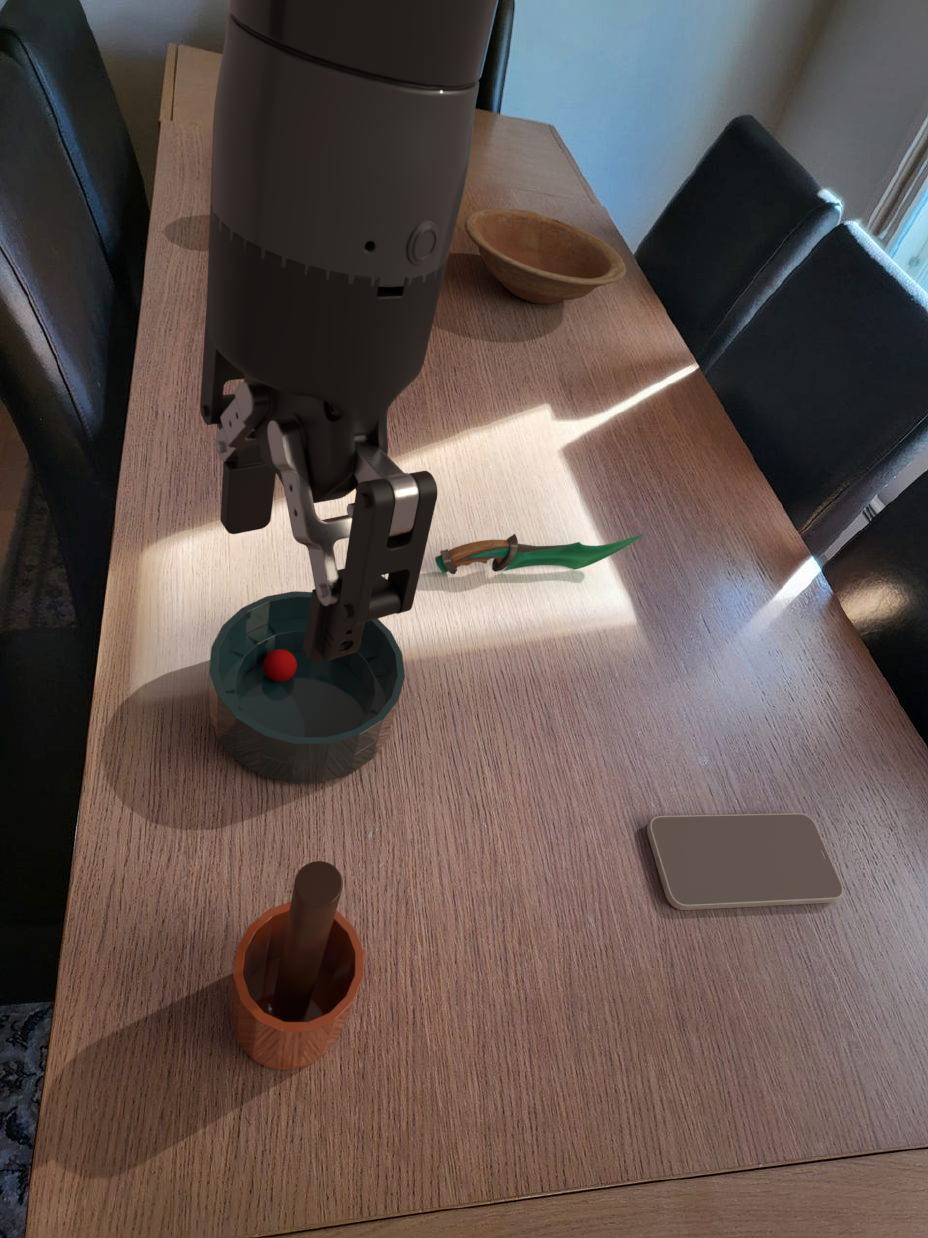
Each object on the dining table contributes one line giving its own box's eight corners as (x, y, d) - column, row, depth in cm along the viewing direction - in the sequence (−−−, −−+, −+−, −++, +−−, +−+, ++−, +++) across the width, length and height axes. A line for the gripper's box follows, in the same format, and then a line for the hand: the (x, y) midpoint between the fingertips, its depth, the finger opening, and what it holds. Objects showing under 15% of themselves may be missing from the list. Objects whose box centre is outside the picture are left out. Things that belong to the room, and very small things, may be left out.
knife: (434, 581, 78) (445, 544, 75) (429, 567, 80) (440, 530, 76) (630, 573, 86) (649, 539, 82) (624, 561, 87) (642, 526, 83)
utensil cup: (250, 1091, 48) (256, 1055, 42) (217, 975, 52) (218, 926, 46) (362, 1040, 51) (382, 1000, 45) (324, 934, 55) (337, 884, 49)
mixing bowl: (240, 811, 59) (242, 767, 55) (189, 659, 66) (188, 610, 62) (419, 757, 65) (434, 714, 61) (354, 624, 73) (363, 577, 68)
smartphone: (646, 815, 66) (810, 812, 69) (642, 821, 66) (805, 817, 70) (674, 907, 61) (848, 898, 64) (669, 912, 61) (842, 903, 65)
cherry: (268, 691, 65) (269, 672, 64) (258, 666, 67) (259, 646, 65) (299, 684, 67) (302, 664, 65) (289, 659, 68) (291, 639, 66)
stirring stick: (278, 1030, 50) (303, 913, 37) (267, 994, 51) (288, 869, 38) (313, 1015, 51) (350, 897, 38) (301, 980, 52) (333, 854, 39)
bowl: (637, 312, 126) (658, 261, 120) (541, 350, 112) (559, 295, 106) (524, 239, 134) (538, 188, 128) (420, 266, 120) (431, 211, 114)
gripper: (135, 119, 28) (143, 504, 38) (335, 332, 20) (276, 731, 31) (335, 135, 32) (291, 480, 43) (560, 317, 25) (438, 675, 35)
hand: (284, 586), depth 37 cm, fingers open, 8 cm apart
